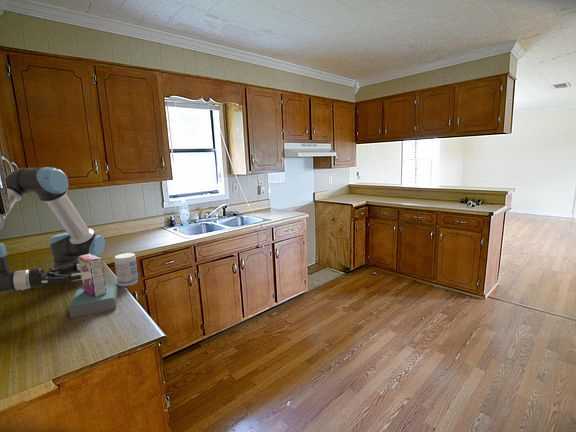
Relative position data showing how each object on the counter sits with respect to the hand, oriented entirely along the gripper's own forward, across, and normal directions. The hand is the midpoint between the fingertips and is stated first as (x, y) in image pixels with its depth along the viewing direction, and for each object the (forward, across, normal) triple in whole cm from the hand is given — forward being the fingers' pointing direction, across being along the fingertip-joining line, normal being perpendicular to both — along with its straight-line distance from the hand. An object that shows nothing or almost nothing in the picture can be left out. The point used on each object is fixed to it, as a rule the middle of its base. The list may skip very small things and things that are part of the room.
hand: (93, 269), depth 132 cm
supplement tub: (+12, -19, -16) cm, 27 cm away
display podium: (0, +1, -16) cm, 16 cm away
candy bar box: (0, 0, -11) cm, 11 cm away
